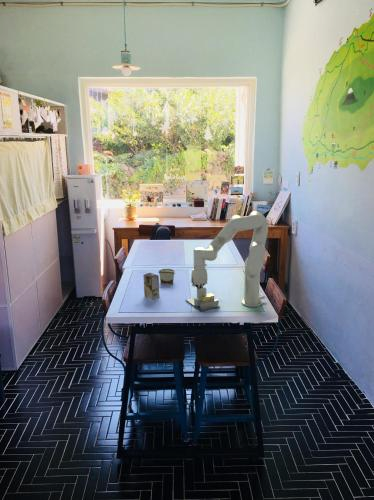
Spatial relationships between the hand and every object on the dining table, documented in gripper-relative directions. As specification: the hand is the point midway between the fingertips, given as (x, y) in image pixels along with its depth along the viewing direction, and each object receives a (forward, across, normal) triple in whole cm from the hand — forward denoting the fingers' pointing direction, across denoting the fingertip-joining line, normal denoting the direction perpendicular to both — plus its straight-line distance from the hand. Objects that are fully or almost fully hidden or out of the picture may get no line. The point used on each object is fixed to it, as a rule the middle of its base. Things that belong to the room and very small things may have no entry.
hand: (199, 293), depth 269 cm
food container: (+6, +2, -44) cm, 45 cm away
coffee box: (+6, +24, -23) cm, 34 cm away
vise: (+6, 0, +4) cm, 7 cm away
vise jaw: (+5, 0, +5) cm, 7 cm away
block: (+5, 0, +10) cm, 11 cm away
